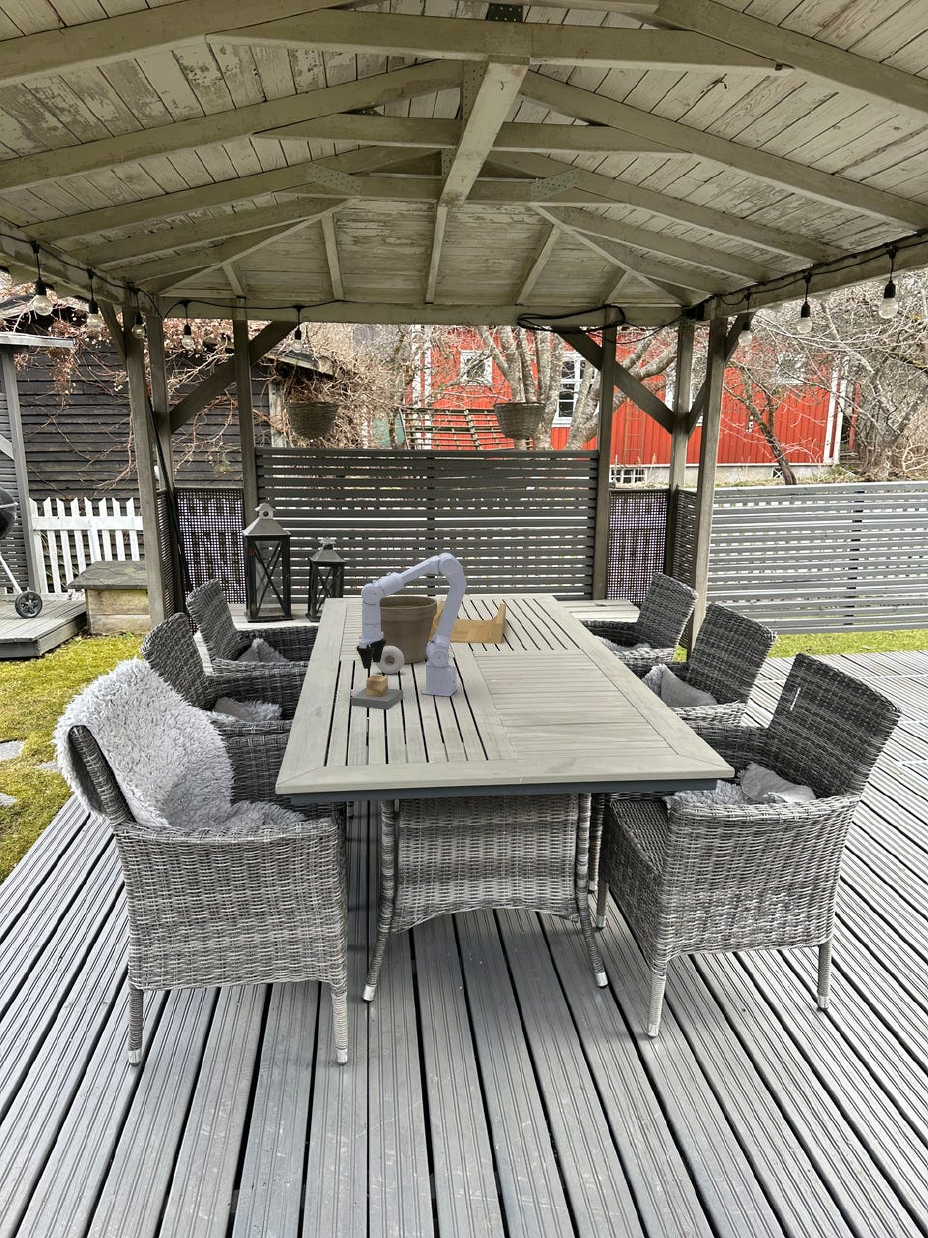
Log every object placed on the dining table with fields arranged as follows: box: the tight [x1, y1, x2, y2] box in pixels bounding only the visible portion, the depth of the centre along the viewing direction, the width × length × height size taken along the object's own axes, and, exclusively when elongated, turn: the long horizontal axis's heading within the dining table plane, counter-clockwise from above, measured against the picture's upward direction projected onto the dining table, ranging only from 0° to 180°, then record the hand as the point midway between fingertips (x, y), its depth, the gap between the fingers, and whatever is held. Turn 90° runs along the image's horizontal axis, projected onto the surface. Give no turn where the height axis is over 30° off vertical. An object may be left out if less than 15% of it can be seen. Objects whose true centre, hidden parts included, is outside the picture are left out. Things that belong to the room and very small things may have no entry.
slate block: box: [350, 687, 405, 710], centre depth 242 cm, size 12×12×3 cm
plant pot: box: [380, 595, 438, 665], centre depth 289 cm, size 25×25×22 cm
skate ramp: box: [428, 595, 507, 645], centre depth 334 cm, size 40×35×16 cm
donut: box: [375, 646, 405, 675], centre depth 270 cm, size 10×3×10 cm, turn 88°
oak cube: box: [365, 674, 389, 697], centre depth 241 cm, size 5×5×5 cm
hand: (372, 665), depth 247 cm, fingers open, 7 cm apart
